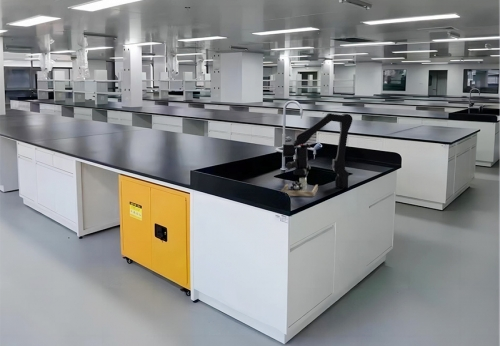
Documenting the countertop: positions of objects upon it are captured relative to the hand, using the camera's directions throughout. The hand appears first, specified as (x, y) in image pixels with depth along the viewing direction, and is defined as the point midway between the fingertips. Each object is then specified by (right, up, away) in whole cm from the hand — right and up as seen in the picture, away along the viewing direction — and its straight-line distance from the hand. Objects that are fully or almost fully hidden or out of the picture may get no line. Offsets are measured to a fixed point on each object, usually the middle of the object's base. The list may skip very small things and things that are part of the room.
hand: (302, 184), depth 234 cm
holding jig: (-2, -4, -8) cm, 9 cm away
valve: (-2, -4, -7) cm, 8 cm away
